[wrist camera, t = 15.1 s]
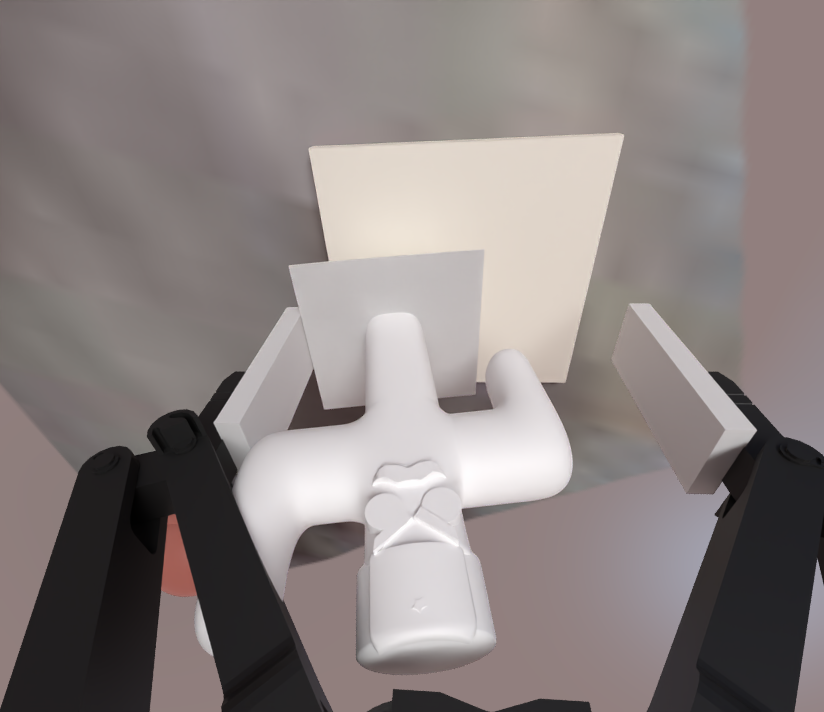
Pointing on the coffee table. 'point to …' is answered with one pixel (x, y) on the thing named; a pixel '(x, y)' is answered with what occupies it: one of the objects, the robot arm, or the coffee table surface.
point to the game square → (483, 224)
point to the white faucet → (403, 453)
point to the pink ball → (176, 563)
